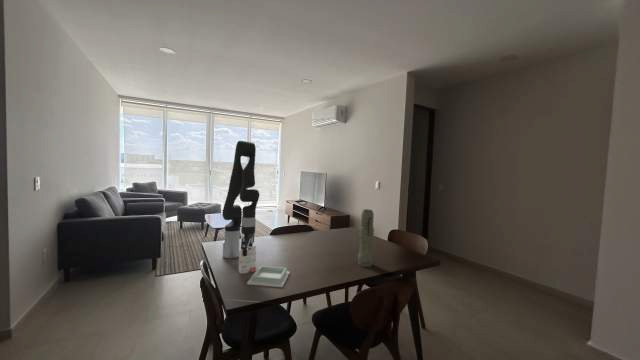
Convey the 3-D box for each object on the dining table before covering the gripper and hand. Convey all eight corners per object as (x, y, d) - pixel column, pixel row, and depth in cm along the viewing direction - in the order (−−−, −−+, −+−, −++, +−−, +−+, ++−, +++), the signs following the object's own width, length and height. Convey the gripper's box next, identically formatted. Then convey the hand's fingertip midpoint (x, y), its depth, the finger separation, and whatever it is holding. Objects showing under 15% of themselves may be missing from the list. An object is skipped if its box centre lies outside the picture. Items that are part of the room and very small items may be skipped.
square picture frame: (247, 284, 132) (247, 277, 132) (258, 270, 150) (258, 264, 150) (282, 287, 130) (282, 280, 130) (289, 273, 148) (289, 267, 148)
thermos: (366, 260, 175) (368, 208, 173) (375, 267, 164) (378, 211, 162) (354, 261, 172) (357, 208, 170) (363, 268, 161) (366, 211, 159)
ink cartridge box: (253, 268, 152) (254, 243, 152) (255, 271, 148) (256, 246, 147) (238, 270, 148) (239, 244, 148) (239, 274, 144) (240, 247, 143)
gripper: (246, 222, 155) (245, 249, 155) (237, 227, 140) (235, 257, 141) (259, 222, 154) (258, 250, 155) (250, 228, 140) (249, 258, 140)
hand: (247, 253), depth 148 cm, fingers open, 8 cm apart
